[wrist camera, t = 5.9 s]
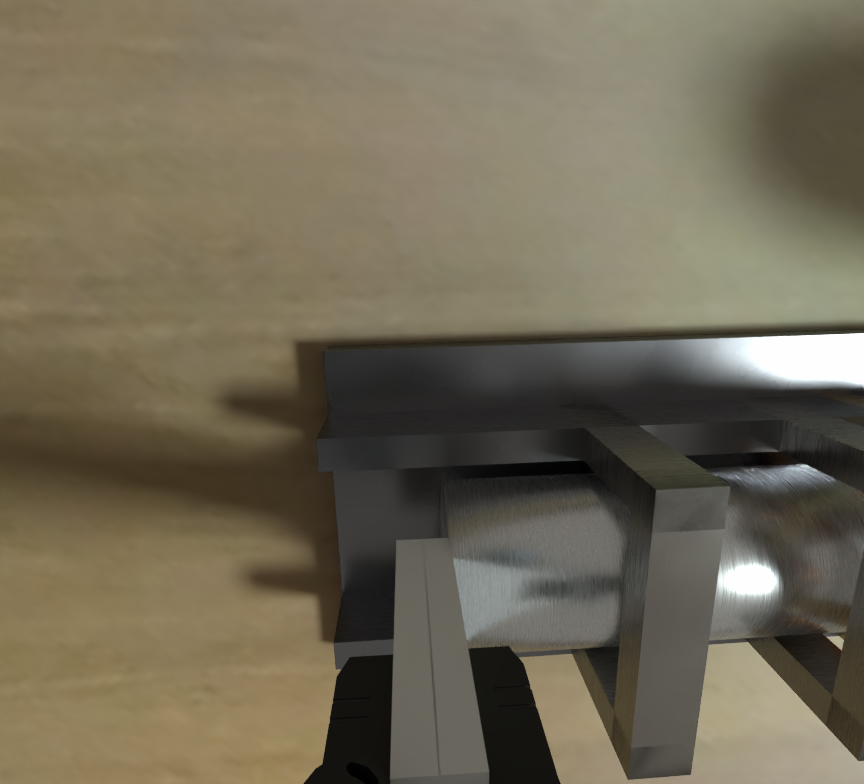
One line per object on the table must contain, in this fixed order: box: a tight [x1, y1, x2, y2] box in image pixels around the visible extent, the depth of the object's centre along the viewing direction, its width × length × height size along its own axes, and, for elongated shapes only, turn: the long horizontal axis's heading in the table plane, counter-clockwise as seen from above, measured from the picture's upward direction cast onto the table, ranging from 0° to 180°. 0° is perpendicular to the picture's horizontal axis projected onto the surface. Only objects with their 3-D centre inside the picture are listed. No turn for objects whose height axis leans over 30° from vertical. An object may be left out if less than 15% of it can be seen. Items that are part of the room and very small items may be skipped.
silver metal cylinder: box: [440, 464, 864, 653], centre depth 15 cm, size 14×5×5 cm, turn 91°
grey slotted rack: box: [316, 329, 864, 780], centre depth 15 cm, size 20×12×8 cm, turn 91°
